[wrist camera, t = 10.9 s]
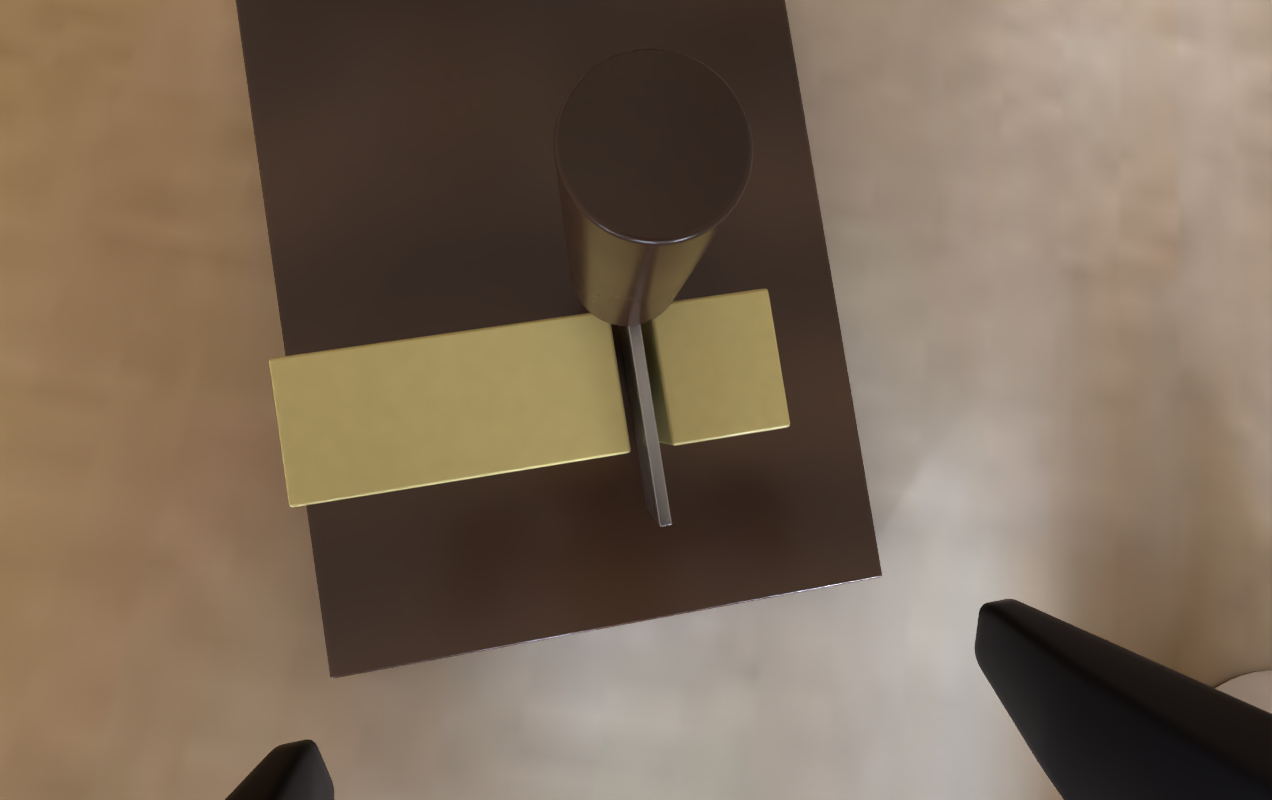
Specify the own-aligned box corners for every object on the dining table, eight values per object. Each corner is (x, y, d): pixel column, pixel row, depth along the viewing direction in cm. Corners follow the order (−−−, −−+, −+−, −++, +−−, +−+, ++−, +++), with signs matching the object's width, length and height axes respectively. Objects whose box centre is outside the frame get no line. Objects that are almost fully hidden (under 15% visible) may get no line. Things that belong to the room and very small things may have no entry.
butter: (624, 448, 18) (631, 452, 15) (341, 493, 17) (287, 508, 14) (605, 329, 18) (609, 309, 15) (323, 370, 17) (267, 358, 14)
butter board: (861, 565, 19) (883, 577, 18) (351, 659, 18) (329, 680, 17) (759, -36, 20) (773, -73, 19) (259, 13, 19) (231, -23, 17)
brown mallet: (696, 500, 17) (830, 592, 8) (606, 515, 17) (627, 629, 7) (656, 249, 18) (737, 34, 8) (567, 261, 17) (539, 56, 8)
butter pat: (758, 426, 18) (791, 426, 15) (658, 443, 18) (672, 446, 15) (739, 309, 18) (768, 286, 15) (639, 324, 18) (649, 303, 15)
